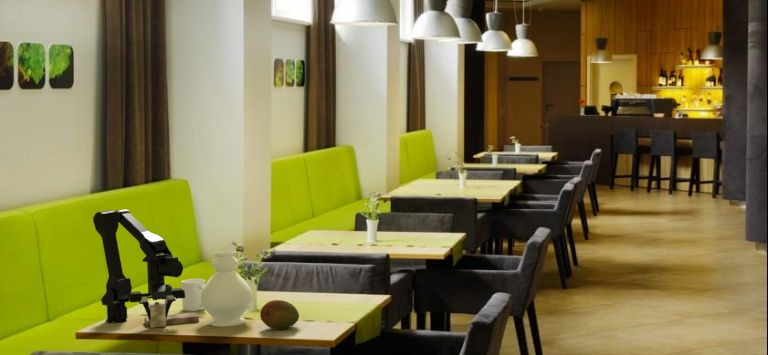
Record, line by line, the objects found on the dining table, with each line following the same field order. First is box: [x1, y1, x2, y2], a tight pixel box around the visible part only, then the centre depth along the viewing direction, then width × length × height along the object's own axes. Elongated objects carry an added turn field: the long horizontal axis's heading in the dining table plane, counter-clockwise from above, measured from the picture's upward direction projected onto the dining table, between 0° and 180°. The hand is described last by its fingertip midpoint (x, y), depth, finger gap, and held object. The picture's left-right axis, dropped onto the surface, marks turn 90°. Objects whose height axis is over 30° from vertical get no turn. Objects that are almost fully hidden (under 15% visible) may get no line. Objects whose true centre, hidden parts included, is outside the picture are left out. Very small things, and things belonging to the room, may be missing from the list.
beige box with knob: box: [149, 301, 167, 329], centre depth 389 cm, size 5×10×8 cm, turn 19°
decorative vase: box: [201, 249, 253, 328], centre depth 389 cm, size 18×18×25 cm
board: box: [144, 311, 200, 328], centre depth 393 cm, size 18×7×2 cm, turn 109°
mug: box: [181, 278, 206, 312], centre depth 413 cm, size 9×12×11 cm
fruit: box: [259, 299, 300, 330], centre depth 379 cm, size 12×12×10 cm
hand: (157, 319), depth 386 cm, fingers closed on beige box with knob, 5 cm apart
